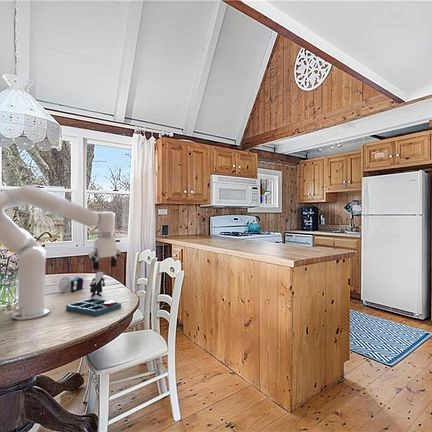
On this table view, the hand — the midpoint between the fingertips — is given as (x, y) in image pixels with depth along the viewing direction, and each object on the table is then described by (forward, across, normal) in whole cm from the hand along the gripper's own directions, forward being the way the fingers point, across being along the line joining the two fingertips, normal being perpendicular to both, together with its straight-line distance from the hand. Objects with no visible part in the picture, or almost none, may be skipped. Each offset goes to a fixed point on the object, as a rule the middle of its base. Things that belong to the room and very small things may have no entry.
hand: (104, 267), depth 158 cm
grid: (+20, +6, +2) cm, 21 cm away
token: (+19, +3, +8) cm, 21 cm away
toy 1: (+20, -11, -44) cm, 49 cm away
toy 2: (+20, -15, -24) cm, 35 cm away
